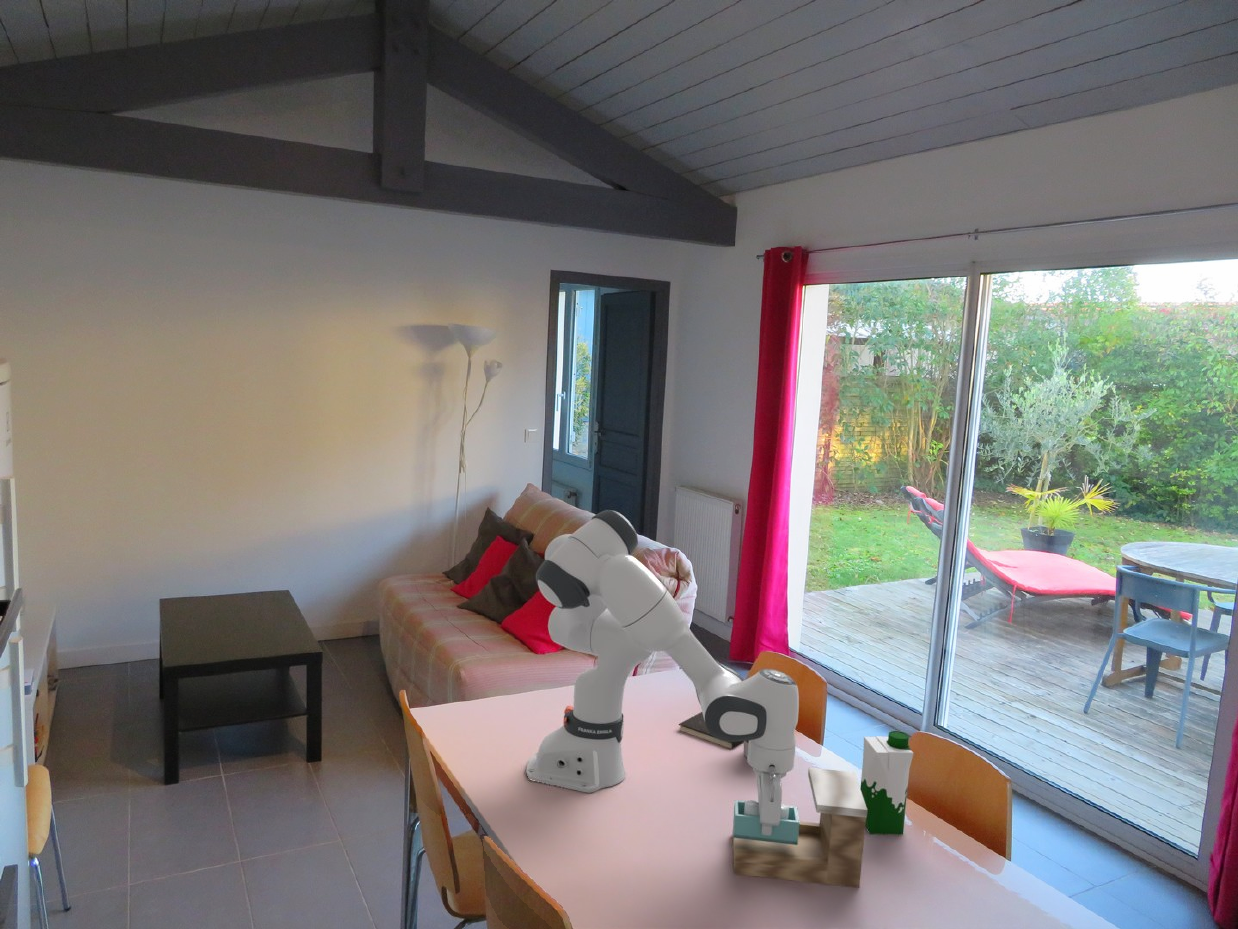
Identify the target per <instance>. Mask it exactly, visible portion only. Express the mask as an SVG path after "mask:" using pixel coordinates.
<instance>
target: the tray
mask: <svg viewBox="0 0 1238 929" xmlns="http://www.w3.org/2000/svg"><path fill="white" fill-rule="evenodd" d="M733 806H734V808H733V819H732V820H733V821H732V822H733V824H732V837H733V836H734V838H740V839H749V840H758V841H767V842H776V843H784V844H793V845H798V833H799V821H800V818H799V812H798V807H797V806H793V805H787V804H785V803H781V817H780V823H779V825H777V826H774V825H773V826H772V832H771V835H769V836H768V835H763V834H762V824H761V823H760V816H759V803H758V802H757V801H756V800H751V799H750V800H746V801H745V800H738V799H735V800H734V805H733Z"/></svg>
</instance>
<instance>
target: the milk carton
mask: <svg viewBox="0 0 1238 929" xmlns="http://www.w3.org/2000/svg"><path fill="white" fill-rule="evenodd" d="M909 738H910V737H909V735H908V734H907V733H906V732H903V731H898V730H892V731H889V732H888V736H880V735H879V736H878V735H875V736H863V752H862V753H863V754H862V768H861V776H860V789H861V792H862V795H863V798H864V801H865V804H866V807H867V818H866V824H865V830H867V832H868V833H869V834H870V835H904V830H905V829H904V828H905V827H904V826H905V818H906V806H907V798H908V796H907V795H908V789H909V788H908V785H909V777H910V776H909V775H910V768H911V764H912V760H913V757H914V752H913V751H912V748H910V745H909Z"/></svg>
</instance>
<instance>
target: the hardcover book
mask: <svg viewBox="0 0 1238 929" xmlns="http://www.w3.org/2000/svg"><path fill="white" fill-rule="evenodd" d="M678 726H680V727H679V731H680V730H681V731H680V732H684V733H685V734H686V733H687V734H688V735H691V736H695V737H698V738H700V739H703V740H706V741H708V742H712V743H713V744H717V743H718V744H717V745H719V744H720V745H719V746H722V745H723V747H726V748H728V749H731V750H734V749H735V748H736V747H738V746H740V745H742V744H744V741H738V742H725V741H721V740H719V739H717V738H715V737H714V736H713V735H712V734H711V733H710V732H709V731H708V729H707V727H706V724H705V720H704V717H703V713H702V711H700V712H699V713H697V714H694V715H693V716H690V717H689V718H686V719H685V720H684V721H682V722H680V723H678ZM741 743H742V744H741Z"/></svg>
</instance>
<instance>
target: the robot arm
mask: <svg viewBox="0 0 1238 929" xmlns="http://www.w3.org/2000/svg"><path fill="white" fill-rule="evenodd" d="M634 527H635V526H633V524H631V521H630V520H628V519H627V518H626V517H625V516H624V515H623V514H621V513H620V512H618V511H616V510H612V509H605V510H603V511H600V512H599V513H597V514H595V515H594V516H592V517H591V520H589V521H587V522H585V524H584V525H582V526H580V527H579V528H578V529H576V531H574V532H573V533H565V534H562V535H559V536H557V537H554V538H553V540H551V542H549V543H548V545H547V547H546V550H545V552H544V560H543V562H542V563H541V564H540V566H539V567H538V569H537V570H536V573H535V582H536V584H537V586H538V589H539V591H540V593H541V594H542V596H543V598H545V599H546V601H548V602H549V603H551V604H552V605H553V606H555V607H554V608H553V609H552V611H551V613H550V615H549V616H548V617H549V618H548V624H547V628H548V633H549V636H550V639H551V640H552V642H553V643H556V644H558V645H559V646H562V647H563V648H566V649H568V650H571V651H575V652H579V653H583V654H587V655H592V656H596V657H597V666H595V667H591V668H589V669H586V670H585V671H582V672H581V673H580V674H579V675H578V676H577V678H576V680H575V681H574V687H573V688H574V689H573V706H572V705H567V706H566V707H565V709H564V715H563V725H562V726H561V727H559V728H557V729H556V730H554V731H553V732H551V733H548V734H547V735H546V736H545V737H544V738H543V740H541V743H540V745H539V748H538V751H537V752H536V753H535V754H534V755H532V756H531V757H530V758H529V759H528V761H527V765H526V769H525V774H526V773H527V776H528V778H529V779H532V780H535V781H539V782H542V783H541V784H544V783H546V784H545V785H549V784H550V785H549V786H554V785H557V786H556V787H559V786H561V787H560V788H563V787H564V789H570V790H575V791H579V792H583V793H589V794H590V793H594V792H596V791H598V790H600V789H604V788H607V787H608V788H609V787H612V786H615V785H617V784H620V783H621V782H622V781H623V780H624V779H625V778H626V770H625V769H626V768H625V765H624V759H623V752H622V751H623V750H622V748H623V747H622V741H623V738H624V725H625V723H624V722H625V721H624V713H623V703H624V693H625V687H626V682H627V680H628V678H629V676H630V674H631V673H632V671H633V670H634V669H635V668H636V667H637V666H638V665H639V664H642V663H643V662H645V661H646V660H647V659H648V658H650V656H652V654H653V653H658V652H662V653H665V654H667V655H668V656H669V657H670V658H671V659H672V660H673V661H674V663H675V664H676V665H677V666H678V667H679V668H680V669H681V671H682V672H683V673H684V674H685V675H686V677H688V678H689V680H690V681H691V682H692V684H693V685H694V689H695V693H696V697H697V700H698V702H699V705H700V709H701V712H702V713H703V717H704V720H705V724H706V727H707V729H708V731H709V732H710V733H711V734H712V735H713V736H714V737H715V738H717V739H719V740H721V741H725V742H738V741H748V740H749V744H748V756H747V757H746V758H747V759H746V760H747V763H748V765H749V766H750V767H752V770H753V772H754V773H755V774H756V776H755V777H756V786H757V800H758V803H759V816H760V823H761V824H762V834H763V835H768V836H769V835H771V832H772V826H773V825H774V826H777V825H779V823H780V817H781V804H782V799H783V798H782V797H783V785H782V784H783V783H782V779H783V778H785V777H786V776H787V773H788V772H791V771H793V769H794V767H795V757H796V745H797V740H796V735H795V734H796V732H795V730H796V727H797V725H798V721H799V707H800V704H799V702H800V701H799V700H800V699H799V698H800V697H799V688H798V687H799V686H798V685H797V682H795V680H794V679H793V678H792V677H791V676H790V675H788V674H786V673H785V672H782V671H780V670H777V669H773V668H772V669H771V668H764V669H760V670H759V671H758V672H756V673H755V674H754V675H752V676H750V677H748V678H747V679H744V678H743V677H742V676H741V674H740V673H738V672H737V671H736V670H734V669H733V668H730V667H728V666H726V665H724V664H722V663H720V662H719V661H718V660H717V659H715V658H714V656H713V655H712V654H711V653H710V652H709V651H708V649H707V648H706V647H705V646H704V644H702V643H701V641H700V640H699V639H698V638H697V637H696V635H695V634H694V633H693V632H692V631H691V629H690V627H689V624H688V621H687V619H686V617H685V615H684V614H683V611H682V609H681V607H680V605H678V603H677V602H676V600H675V599H674V597H673V595H672V594H671V592H670V591H668V589H667V588H666V587H665V585H664V584H663V583H662V582H661V581H660V580H659V579H658V578H657V577H656V575H655V574H654V573H653V572H652V571H651V570H650V569H649V568H647V567H646V565H644V564H643V563H642V562H641V561H639V560H638V559H637V558H636V557H635V556H633V555H632V554H633V553H634V552H635V550H636V548H637V546H638V544H639V540H638V539H639V538H638V534H637V531H636V529H635V528H634ZM527 776H526V777H527ZM528 778H527V779H528ZM529 779H528V780H529ZM539 782H538V783H539Z"/></svg>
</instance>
